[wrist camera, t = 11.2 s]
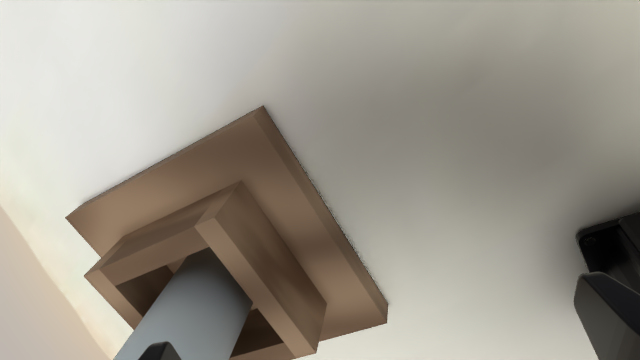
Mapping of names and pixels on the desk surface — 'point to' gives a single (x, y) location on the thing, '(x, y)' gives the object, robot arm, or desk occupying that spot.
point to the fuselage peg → (194, 312)
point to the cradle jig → (234, 240)
